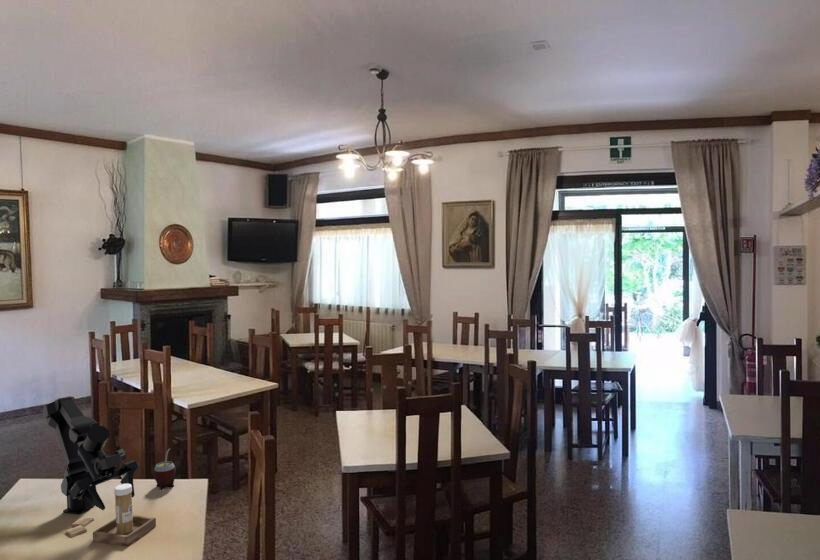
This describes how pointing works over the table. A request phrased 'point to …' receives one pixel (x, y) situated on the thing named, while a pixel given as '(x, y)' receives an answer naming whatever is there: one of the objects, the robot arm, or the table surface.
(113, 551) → the table surface
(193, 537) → the table surface
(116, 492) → the sprinkles bottle
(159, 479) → the mate gourd
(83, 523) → the oak tile
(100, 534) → the box
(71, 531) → the oak tile
